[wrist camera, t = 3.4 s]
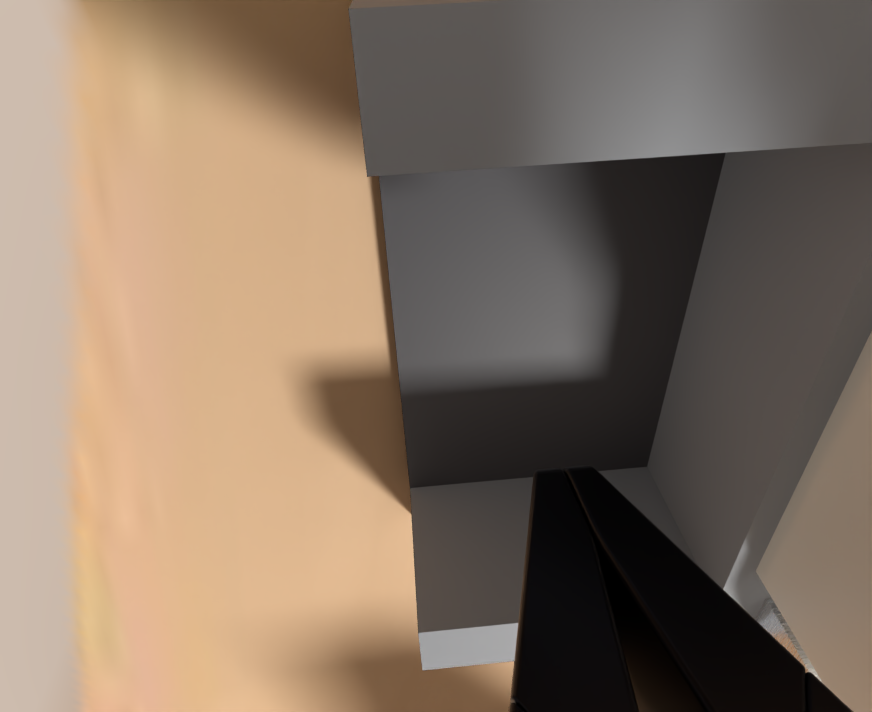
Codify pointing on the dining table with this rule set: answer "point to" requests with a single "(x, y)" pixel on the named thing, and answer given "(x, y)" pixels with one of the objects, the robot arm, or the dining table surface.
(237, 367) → the dining table surface
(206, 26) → the dining table surface
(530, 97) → the grey piece
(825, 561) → the cream block
